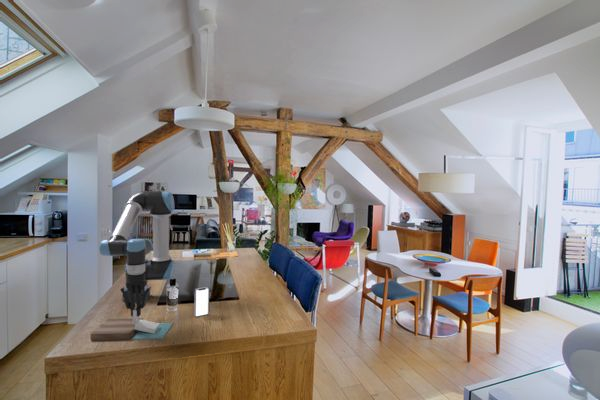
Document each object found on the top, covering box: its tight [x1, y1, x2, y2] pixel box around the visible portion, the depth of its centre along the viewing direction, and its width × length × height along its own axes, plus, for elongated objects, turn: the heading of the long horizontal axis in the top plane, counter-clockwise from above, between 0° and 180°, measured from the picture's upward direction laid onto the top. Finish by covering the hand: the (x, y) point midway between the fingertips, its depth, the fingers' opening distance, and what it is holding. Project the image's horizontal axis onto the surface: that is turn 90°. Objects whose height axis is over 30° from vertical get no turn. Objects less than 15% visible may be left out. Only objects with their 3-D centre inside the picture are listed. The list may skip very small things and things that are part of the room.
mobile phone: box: [193, 286, 210, 318], centre depth 161 cm, size 8×1×15 cm, turn 124°
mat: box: [131, 322, 174, 341], centre depth 143 cm, size 15×13×1 cm
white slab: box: [134, 319, 161, 334], centre depth 142 cm, size 6×9×2 cm, turn 96°
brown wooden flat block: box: [90, 317, 144, 342], centre depth 141 cm, size 15×16×3 cm
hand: (135, 322), depth 142 cm, fingers closed
